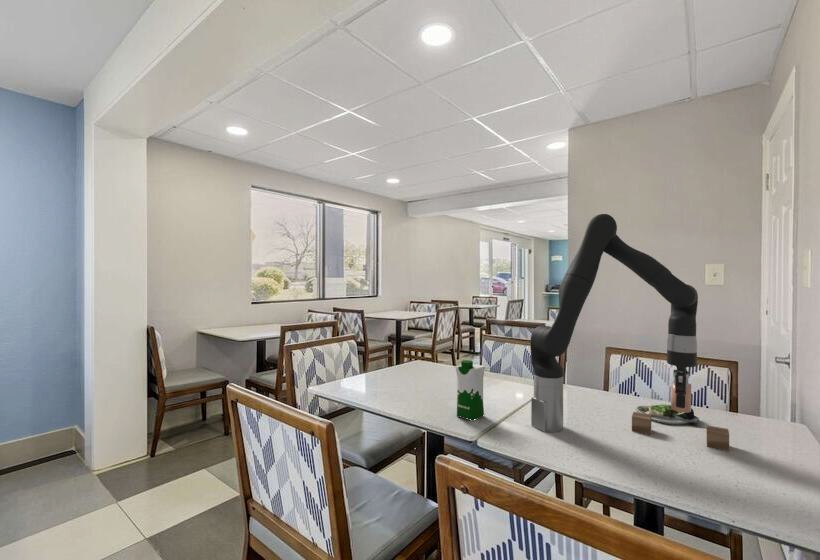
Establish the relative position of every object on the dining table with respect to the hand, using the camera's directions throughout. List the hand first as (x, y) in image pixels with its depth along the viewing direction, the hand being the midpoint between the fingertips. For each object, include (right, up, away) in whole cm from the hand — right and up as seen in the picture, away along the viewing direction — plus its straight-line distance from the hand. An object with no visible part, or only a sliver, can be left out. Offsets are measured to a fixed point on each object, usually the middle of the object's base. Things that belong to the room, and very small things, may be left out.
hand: (680, 404), depth 119 cm
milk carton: (-61, -11, +20) cm, 65 cm away
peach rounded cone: (0, -1, 0) cm, 1 cm away
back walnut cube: (-8, -11, +7) cm, 15 cm away
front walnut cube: (+7, -11, -5) cm, 14 cm away
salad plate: (+9, -11, +19) cm, 23 cm away
